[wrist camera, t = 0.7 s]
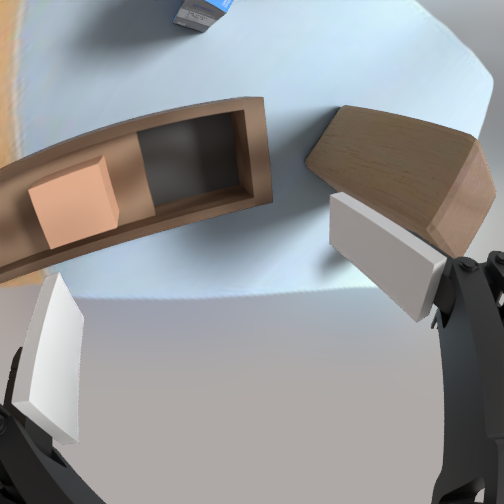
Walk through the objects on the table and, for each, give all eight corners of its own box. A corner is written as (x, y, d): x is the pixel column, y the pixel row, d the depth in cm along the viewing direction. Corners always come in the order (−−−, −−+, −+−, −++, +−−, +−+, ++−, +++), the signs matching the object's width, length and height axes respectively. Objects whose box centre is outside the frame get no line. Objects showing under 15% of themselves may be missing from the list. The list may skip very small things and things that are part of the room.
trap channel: (-87, 223, 18) (-105, 240, 14) (245, 96, 29) (263, 96, 25) (-57, 289, 23) (-69, 310, 19) (256, 188, 35) (273, 202, 31)
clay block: (41, 177, 23) (28, 189, 19) (103, 155, 24) (98, 163, 21) (59, 231, 26) (50, 249, 23) (119, 211, 27) (117, 227, 24)
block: (346, 199, 41) (456, 273, 24) (299, 163, 35) (425, 233, 19) (382, 145, 38) (500, 194, 22) (340, 101, 33) (480, 132, 17)
